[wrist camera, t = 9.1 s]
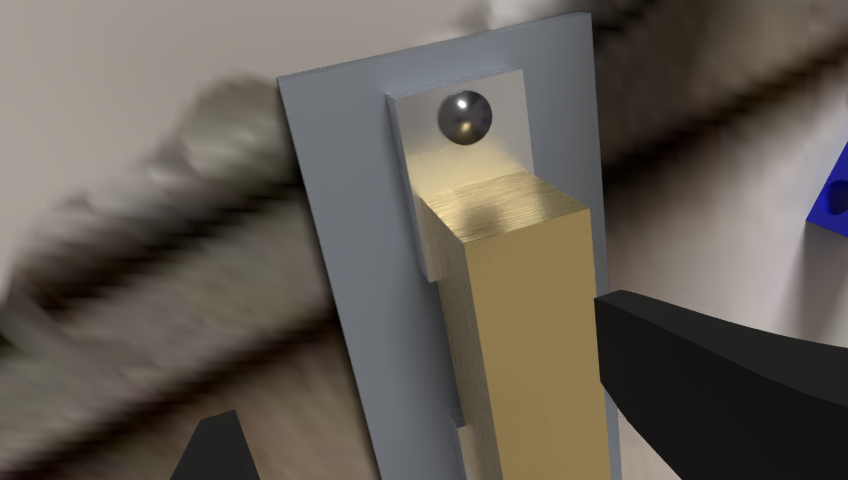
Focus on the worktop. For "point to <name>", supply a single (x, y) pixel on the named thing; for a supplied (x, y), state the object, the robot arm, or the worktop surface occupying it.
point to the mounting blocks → (458, 157)
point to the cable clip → (833, 199)
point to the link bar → (522, 327)
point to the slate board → (390, 224)
